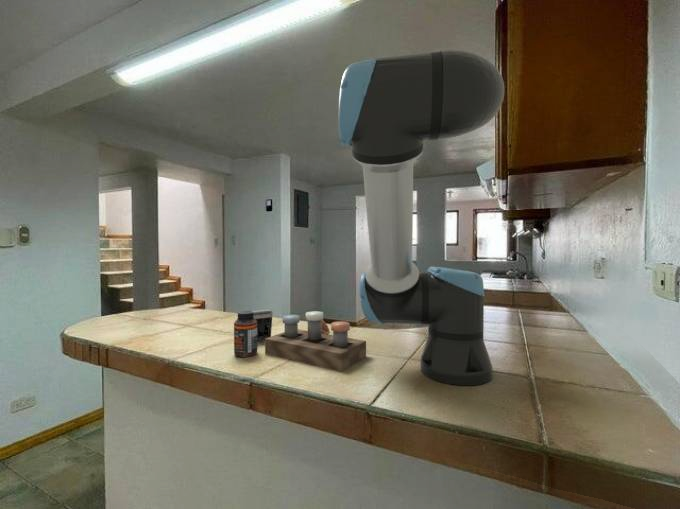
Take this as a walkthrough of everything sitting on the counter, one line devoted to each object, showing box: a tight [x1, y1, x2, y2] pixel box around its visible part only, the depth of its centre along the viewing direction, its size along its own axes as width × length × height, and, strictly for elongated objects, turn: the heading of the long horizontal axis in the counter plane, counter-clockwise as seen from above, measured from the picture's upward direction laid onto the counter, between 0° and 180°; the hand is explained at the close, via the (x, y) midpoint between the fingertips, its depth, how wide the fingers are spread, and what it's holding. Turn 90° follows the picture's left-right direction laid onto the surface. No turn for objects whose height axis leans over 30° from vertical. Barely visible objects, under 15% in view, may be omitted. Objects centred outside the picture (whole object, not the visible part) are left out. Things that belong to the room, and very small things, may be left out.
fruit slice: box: [321, 318, 331, 335], centre depth 102 cm, size 8×7×5 cm
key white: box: [305, 310, 324, 340], centre depth 85 cm, size 5×5×6 cm
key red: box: [330, 321, 351, 349], centre depth 81 cm, size 5×5×6 cm
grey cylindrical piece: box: [282, 314, 301, 339], centre depth 90 cm, size 5×5×6 cm
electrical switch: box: [252, 309, 273, 342], centre depth 99 cm, size 9×5×9 cm, turn 117°
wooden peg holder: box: [264, 329, 367, 372], centre depth 86 cm, size 24×12×4 cm, turn 58°
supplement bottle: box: [233, 310, 258, 358], centre depth 86 cm, size 6×6×11 cm
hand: (397, 242), depth 96 cm, fingers closed
